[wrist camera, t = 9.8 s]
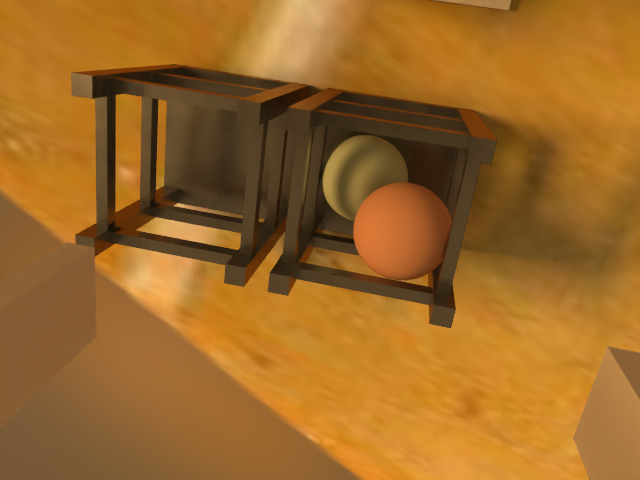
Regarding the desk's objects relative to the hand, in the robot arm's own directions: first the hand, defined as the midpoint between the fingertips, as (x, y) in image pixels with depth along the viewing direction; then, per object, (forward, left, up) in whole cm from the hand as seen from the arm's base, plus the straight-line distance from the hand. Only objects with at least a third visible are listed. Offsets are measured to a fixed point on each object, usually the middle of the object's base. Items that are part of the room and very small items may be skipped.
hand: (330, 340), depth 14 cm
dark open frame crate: (0, 0, -22) cm, 22 cm away
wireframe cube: (0, -10, -22) cm, 24 cm away
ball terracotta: (+2, +2, -15) cm, 15 cm away
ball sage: (0, -1, -19) cm, 19 cm away
